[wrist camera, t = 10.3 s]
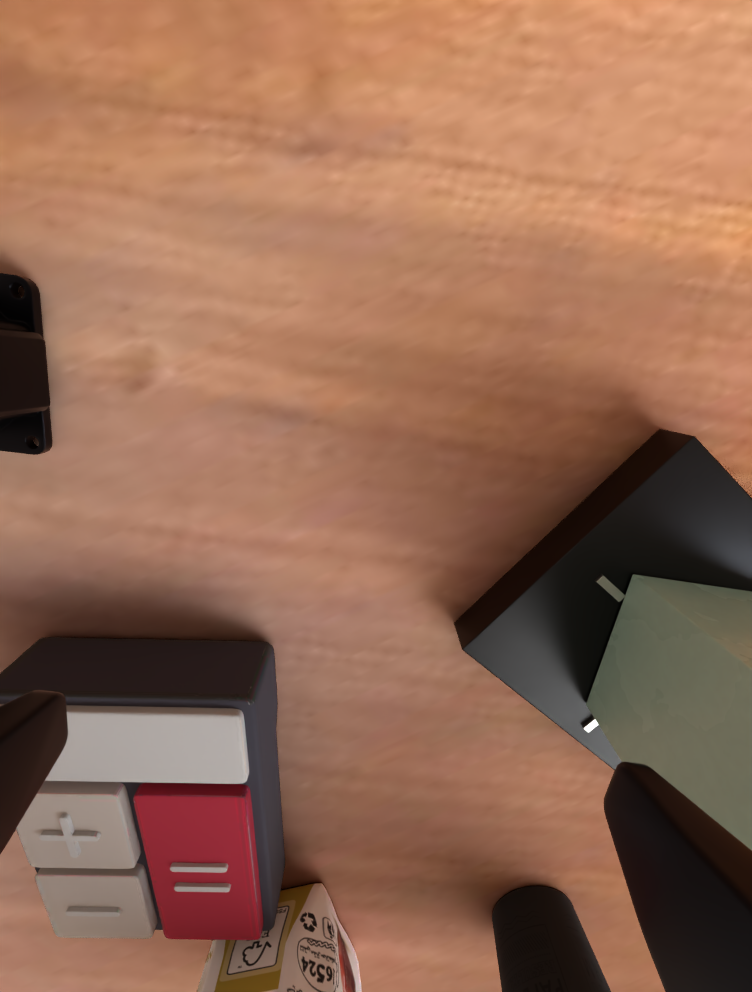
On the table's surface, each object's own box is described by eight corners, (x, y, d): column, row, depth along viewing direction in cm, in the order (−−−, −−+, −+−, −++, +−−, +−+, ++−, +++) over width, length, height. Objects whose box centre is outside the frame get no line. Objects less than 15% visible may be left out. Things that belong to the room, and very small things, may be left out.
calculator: (44, 950, 21) (-50, 709, 16) (97, 851, 25) (36, 635, 20) (271, 953, 21) (248, 715, 16) (288, 854, 25) (274, 640, 20)
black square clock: (453, 622, 20) (462, 652, 18) (659, 428, 18) (697, 436, 16) (643, 775, 23) (670, 816, 21) (847, 626, 20) (901, 655, 18)
